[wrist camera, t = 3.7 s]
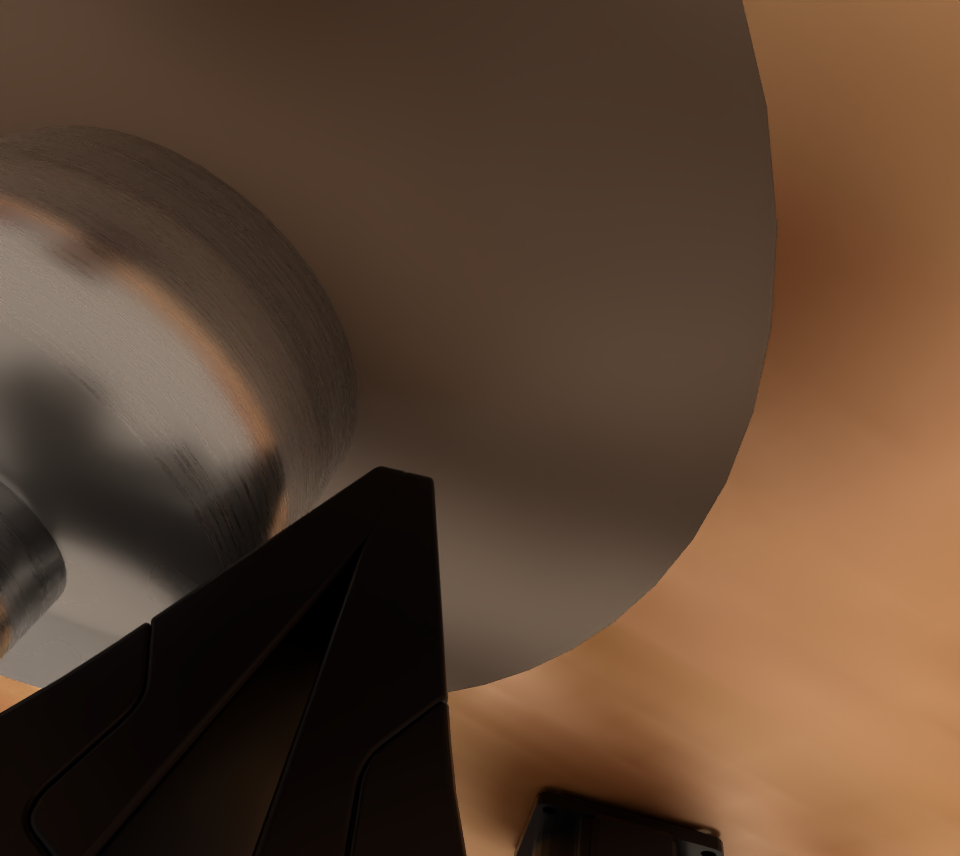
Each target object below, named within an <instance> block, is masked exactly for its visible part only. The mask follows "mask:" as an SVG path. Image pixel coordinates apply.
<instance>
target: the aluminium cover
mask: <svg viewBox="0 0 960 856" xmlns="http://www.w3.org/2000/svg"><path fill="white" fill-rule="evenodd" d="M357 407H358V393H357V379H356V373H355V368H354V363H353V359H352V354H351V350H350V347H349V344H348V341H347V338H346V336H345V333H344V330H343V327H342V324H341V322H340V320H339V318H338V316H337V314H336V312H335V309H334V307H333V305H332V303H331V301H330V299H329V297H328V295H327V294H326V292H325V290H324V289H323V287H322V286H321V284H320V282H319V281H318V279H317V278H316V276H315V274H314V273H313V271H312V270H311V268H310V267H309V265H308V264H307V263H306V261H305V260H304V259H303V258H302V256H301V255H300V254H299V253H298V251H297V250H296V249H295V247H294V246H293V245H292V244H291V242H290V241H289V240H288V239H287V238H286V237H285V236H284V234H283V233H282V232H281V231H280V230H279V229H278V228H277V227H276V226H275V225H274V224H273V223H272V222H271V221H270V220H269V219H268V218H267V217H266V216H265V215H264V214H263V213H262V212H261V211H260V210H259V209H258V208H256V207H255V206H254V205H253V204H252V203H251V202H249V201H248V200H247V199H246V198H245V197H244V196H242V195H241V194H240V193H239V192H238V191H237V190H235V189H234V188H233V187H231V186H230V185H228V184H227V183H225V182H224V181H223V180H221V179H220V178H218V177H217V176H215V175H214V174H212V173H211V172H210V171H208V170H207V169H205V168H204V167H202V166H200V165H198V164H196V163H195V162H193V161H191V160H189V159H187V158H185V157H183V156H182V155H180V154H178V153H176V152H174V151H172V150H170V149H168V148H165V147H163V146H160V145H158V144H155V143H153V142H150V141H148V140H145V139H143V138H140V137H137V136H134V135H130V134H126V133H122V132H118V131H114V130H111V129H107V128H98V127H89V126H80V125H65V126H47V127H42V128H38V129H34V130H29V131H25V132H21V133H17V134H12V135H8V136H4V137H0V675H2V676H4V677H7V678H10V679H13V680H16V681H20V682H23V683H26V684H29V685H33V686H36V687H39V688H44V687H46V686H47V685H49V684H51V683H52V682H54V681H56V680H57V679H59V678H61V677H62V676H64V675H65V674H67V673H69V672H70V671H72V670H73V669H75V668H76V667H78V666H79V665H81V664H83V663H84V662H86V661H87V660H89V659H90V658H92V657H93V656H95V655H97V654H98V653H100V652H101V651H103V650H104V649H106V648H107V647H109V646H111V645H112V644H114V643H115V642H117V641H118V640H120V639H121V638H123V637H124V636H126V635H127V634H129V633H130V632H132V631H133V630H134V629H136V628H137V627H139V626H140V625H142V624H143V623H149V624H150V625H151V620H152V618H153V617H154V616H156V615H157V614H159V613H160V612H162V611H163V610H165V609H166V608H168V607H169V606H171V605H172V604H174V603H175V602H177V601H178V600H179V599H181V598H182V597H184V596H185V595H187V594H188V593H190V592H191V591H193V590H194V589H196V588H197V587H199V586H200V585H202V584H203V583H205V582H206V581H208V580H209V579H211V578H212V577H214V576H215V575H217V574H218V573H220V572H221V571H223V570H224V569H226V568H227V567H229V566H230V565H231V564H233V563H234V562H236V561H237V560H239V559H240V558H242V557H243V556H245V555H246V554H248V553H249V552H251V551H252V550H254V549H255V548H257V547H258V546H260V545H261V544H263V543H264V542H266V541H267V540H269V539H270V538H272V537H273V536H275V535H276V534H278V533H279V532H280V531H282V530H283V529H285V528H286V527H288V526H289V525H291V524H292V523H294V522H295V521H297V520H298V519H300V518H301V517H303V516H304V515H306V514H307V513H309V512H310V511H312V510H313V508H314V507H315V505H316V504H317V502H318V500H319V499H320V497H321V495H322V494H323V492H324V491H325V489H326V487H327V486H328V484H329V482H330V481H331V479H332V478H333V476H334V474H335V473H336V471H337V469H338V468H339V466H340V465H341V463H342V461H343V460H344V457H345V455H346V453H347V451H348V449H349V446H350V444H351V442H352V438H353V434H354V430H355V426H356V420H357Z"/></svg>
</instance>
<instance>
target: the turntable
mask: <svg viewBox="0 0 960 856" xmlns="http://www.w3.org/2000/svg"><path fill="white" fill-rule="evenodd" d="M65 125H80V126H89V127H98V128H107V129H111V130H114V131H118V132H122V133H126V134H130V135H134V136H137V137H140V138H143V139H145V140H148V141H150V142H153V143H155V144H158V145H160V146H163V147H165V148H168V149H170V150H172V151H174V152H176V153H178V154H180V155H182V156H183V157H185V158H187V159H189V160H191V161H193V162H195V163H196V164H198V165H200V166H202V167H204V168H205V169H207V170H208V171H210V172H211V173H212V174H214V175H215V176H217V177H218V178H220V179H221V180H223V181H224V182H225V183H227V184H228V185H230V186H231V187H233V188H234V189H235V190H237V191H238V192H239V193H240V194H241V195H242V196H244V197H245V198H246V199H247V200H248V201H249V202H251V203H252V204H253V205H254V206H255V207H256V208H258V209H259V210H260V211H261V212H262V213H263V214H264V215H265V216H266V217H267V218H268V219H269V220H270V221H271V222H272V223H273V224H274V225H275V226H276V227H277V228H278V229H279V230H280V231H281V232H282V233H283V234H284V236H285V237H286V238H287V239H288V240H289V241H290V242H291V244H292V245H293V246H294V247H295V249H296V250H297V251H298V253H299V254H300V255H301V256H302V258H303V259H304V260H305V261H306V263H307V264H308V265H309V267H310V268H311V270H312V271H313V273H314V274H315V276H316V278H317V279H318V281H319V282H320V284H321V286H322V287H323V289H324V290H325V292H326V294H327V295H328V297H329V299H330V301H331V303H332V305H333V307H334V309H335V312H336V314H337V316H338V318H339V320H340V322H341V324H342V327H343V330H344V333H345V336H346V338H347V341H348V344H349V347H350V350H351V354H352V359H353V363H354V368H355V373H356V379H357V393H358V407H357V420H356V426H355V430H354V434H353V438H352V442H351V444H350V446H349V449H348V451H347V453H346V455H345V457H344V460H343V461H342V463H341V465H340V466H339V468H338V469H337V471H336V473H335V474H334V476H333V478H332V479H331V481H330V482H329V484H328V486H327V487H326V489H325V491H324V492H323V494H322V495H321V497H320V499H319V500H318V502H317V504H316V505H315V507H314V508H313V509H315V508H316V507H318V506H319V505H321V504H322V503H324V502H325V501H327V500H328V499H329V498H331V497H332V496H334V495H335V494H337V493H338V492H340V491H341V490H343V489H344V488H346V487H347V486H349V485H350V484H352V483H353V482H355V481H356V480H358V479H359V478H361V477H362V476H364V475H365V474H367V473H368V472H370V471H371V470H373V469H374V468H376V467H379V466H385V467H389V468H393V469H397V470H402V471H405V472H406V473H407V472H410V473H414V474H419V475H423V476H427V477H431V478H432V479H433V481H434V489H435V504H436V520H437V536H438V551H439V567H440V582H441V598H442V614H443V629H444V645H445V660H446V676H447V692H452V691H457V690H461V689H466V688H471V687H476V686H481V685H485V684H488V683H491V682H494V681H497V680H500V679H503V678H506V677H509V676H512V675H515V674H518V673H521V672H524V671H527V670H530V669H532V668H534V667H536V666H538V665H540V664H542V663H545V662H547V661H549V660H551V659H553V658H555V657H557V656H559V655H561V654H563V653H566V652H568V651H570V650H572V649H574V648H575V647H577V646H578V645H580V644H581V643H583V642H584V641H586V640H587V639H589V638H590V637H592V636H593V635H595V634H596V633H598V632H599V631H601V630H602V629H604V628H605V627H607V626H609V625H610V624H612V623H613V622H615V621H616V620H617V619H618V618H619V617H620V616H621V615H622V614H624V613H625V612H626V611H627V610H628V609H629V608H630V607H631V606H633V605H634V604H635V603H636V602H637V601H638V600H639V599H640V598H642V597H643V596H644V595H645V594H646V593H647V592H648V591H649V590H651V589H652V588H653V587H654V586H655V585H656V584H657V583H658V581H659V580H660V579H661V578H662V576H663V575H664V574H665V573H666V572H667V570H668V569H669V568H670V567H671V565H672V564H673V563H674V562H675V561H676V559H677V558H678V557H679V556H680V555H681V553H682V552H683V551H684V550H685V548H686V547H687V546H688V545H689V544H690V542H691V541H692V540H693V538H694V537H695V535H696V533H697V532H698V530H699V528H700V526H701V525H702V523H703V521H704V520H705V518H706V516H707V514H708V513H709V511H710V509H711V507H712V506H713V504H714V502H715V501H716V499H717V497H718V495H719V494H720V492H721V490H722V489H723V487H724V485H725V483H726V481H727V479H728V476H729V474H730V471H731V468H732V466H733V463H734V461H735V458H736V455H737V453H738V450H739V448H740V445H741V442H742V440H743V437H744V435H745V432H746V430H747V427H748V424H749V422H750V419H751V417H752V414H753V410H754V406H755V401H756V396H757V392H758V387H759V382H760V378H761V373H762V368H763V364H764V359H765V354H766V350H767V345H768V340H769V336H770V331H771V323H772V306H773V289H774V271H775V254H776V237H777V219H776V207H775V196H774V184H773V173H772V162H771V150H770V139H769V128H768V116H767V106H766V102H765V97H764V93H763V89H762V84H761V80H760V76H759V71H758V67H757V63H756V59H755V54H754V50H753V46H752V41H751V37H750V33H749V28H748V24H747V20H746V15H745V11H744V7H743V3H742V0H0V137H4V136H8V135H12V134H17V133H21V132H25V131H29V130H34V129H38V128H42V127H47V126H65Z"/></svg>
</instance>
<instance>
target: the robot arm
mask: <svg viewBox="0 0 960 856" xmlns="http://www.w3.org/2000/svg"><path fill="white" fill-rule="evenodd" d="M447 701H448V692H447V676H446V660H445V645H444V629H443V614H442V598H441V582H440V567H439V551H438V536H437V520H436V504H435V489H434V481H433V479H432V478H431V477H427V476H423V475H419V474H414V473H410V472H407V473H406V472H405V471H402V470H397V469H393V468H389V467H385V466H379V467H376V468H374V469H373V470H371V471H370V472H368V473H367V474H365V475H364V476H362V477H361V478H359V479H358V480H356V481H355V482H353V483H352V484H350V485H349V486H347V487H346V488H344V489H343V490H341V491H340V492H338V493H337V494H335V495H334V496H332V497H331V498H329V499H328V500H327V501H325V502H324V503H322V504H321V505H319V506H318V507H316V508H315V509H313V510H312V511H310V512H309V513H307V514H306V515H304V516H303V517H301V518H300V519H298V520H297V521H295V522H294V523H292V524H291V525H289V526H288V527H286V528H285V529H283V530H282V531H280V532H279V533H278V534H276V535H275V536H273V537H272V538H270V539H269V540H267V541H266V542H264V543H263V544H261V545H260V546H258V547H257V548H255V549H254V550H252V551H251V552H249V553H248V554H246V555H245V556H243V557H242V558H240V559H239V560H237V561H236V562H234V563H233V564H231V565H230V566H229V567H227V568H226V569H224V570H223V571H221V572H220V573H218V574H217V575H215V576H214V577H212V578H211V579H209V580H208V581H206V582H205V583H203V584H202V585H200V586H199V587H197V588H196V589H194V590H193V591H191V592H190V593H188V594H187V595H185V596H184V597H182V598H181V599H179V600H178V601H177V602H175V603H174V604H172V605H171V606H169V607H168V608H166V609H165V610H163V611H162V612H160V613H159V614H157V615H156V616H154V617H153V618H152V620H151V625H150V624H149V623H143V624H142V625H140V626H139V627H137V628H136V629H134V630H133V631H132V632H130V633H129V634H127V635H126V636H124V637H123V638H121V639H120V640H118V641H117V642H115V643H114V644H112V645H111V646H109V647H107V648H106V649H104V650H103V651H101V652H100V653H98V654H97V655H95V656H93V657H92V658H90V659H89V660H87V661H86V662H84V663H83V664H81V665H79V666H78V667H76V668H75V669H73V670H72V671H70V672H69V673H67V674H65V675H64V676H62V677H61V678H59V679H57V680H56V681H54V682H52V683H51V684H49V685H47V686H46V687H44V688H42V689H40V690H39V691H37V692H35V693H34V694H32V695H30V696H29V697H27V698H25V699H23V700H22V701H20V702H18V703H17V704H15V705H13V706H12V707H10V708H8V709H7V710H5V711H3V712H1V713H0V856H467V855H466V850H465V844H464V837H463V831H462V825H461V819H460V813H459V807H458V801H457V795H456V786H455V776H454V766H453V756H452V746H451V734H450V718H449V706H448V704H447ZM514 856H724V851H723V842H722V841H721V840H720V839H719V838H717V837H715V836H712V835H708V834H705V833H701V832H697V831H694V830H690V829H686V828H682V827H679V826H675V825H671V824H668V823H664V822H660V821H657V820H653V819H649V818H646V817H642V816H638V815H634V814H631V813H627V812H623V811H620V810H616V809H612V808H609V807H605V806H601V805H598V804H594V803H590V802H586V801H583V800H579V799H575V798H572V797H568V796H564V795H561V794H557V793H553V792H541V793H539V794H538V795H537V797H536V799H535V802H534V804H533V807H532V809H531V812H530V814H529V817H528V819H527V822H526V824H525V827H524V830H523V832H522V835H521V837H520V840H519V842H518V845H517V847H516V850H515V852H514Z"/></svg>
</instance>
